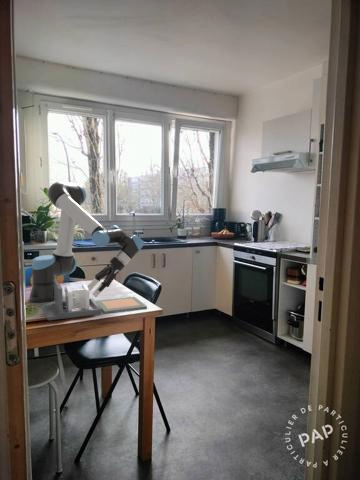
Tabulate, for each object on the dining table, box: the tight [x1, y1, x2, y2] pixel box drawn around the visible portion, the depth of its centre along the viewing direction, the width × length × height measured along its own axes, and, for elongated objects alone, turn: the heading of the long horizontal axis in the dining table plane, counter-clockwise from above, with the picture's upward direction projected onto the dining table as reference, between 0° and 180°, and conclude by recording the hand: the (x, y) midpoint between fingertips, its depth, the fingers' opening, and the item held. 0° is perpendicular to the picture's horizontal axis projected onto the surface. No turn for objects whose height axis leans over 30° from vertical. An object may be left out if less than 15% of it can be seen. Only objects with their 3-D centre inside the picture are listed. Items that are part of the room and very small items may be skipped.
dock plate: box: [95, 296, 148, 314], centre depth 180 cm, size 20×22×1 cm
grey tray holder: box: [43, 279, 103, 321], centre depth 169 cm, size 20×24×14 cm
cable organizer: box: [64, 283, 90, 312], centre depth 170 cm, size 15×11×12 cm
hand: (90, 292), depth 172 cm, fingers open, 13 cm apart
